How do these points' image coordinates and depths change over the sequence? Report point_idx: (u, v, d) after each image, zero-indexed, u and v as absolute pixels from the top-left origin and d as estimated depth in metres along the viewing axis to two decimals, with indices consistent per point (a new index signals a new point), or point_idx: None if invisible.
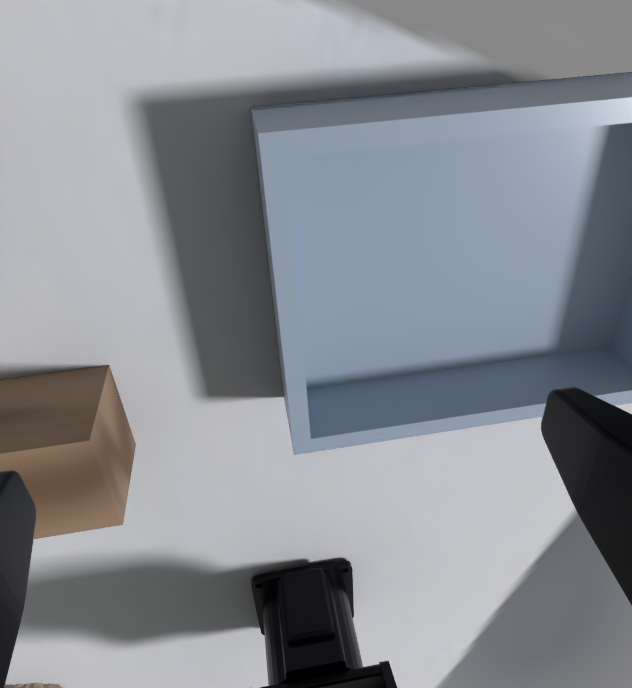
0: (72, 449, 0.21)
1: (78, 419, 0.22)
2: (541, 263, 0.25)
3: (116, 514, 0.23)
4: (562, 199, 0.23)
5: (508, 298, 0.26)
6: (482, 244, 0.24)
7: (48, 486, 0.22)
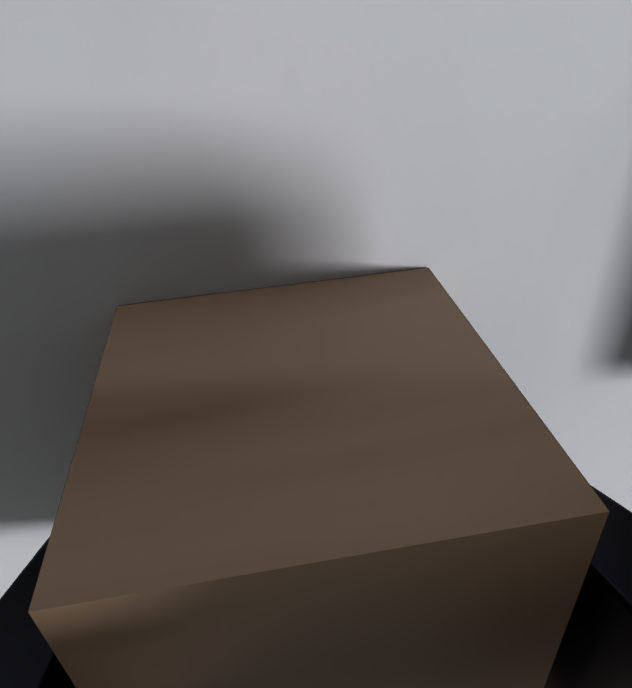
0: (528, 546, 0.05)
1: (476, 420, 0.06)
2: None
3: None
4: None
5: None
6: None
7: (372, 671, 0.06)
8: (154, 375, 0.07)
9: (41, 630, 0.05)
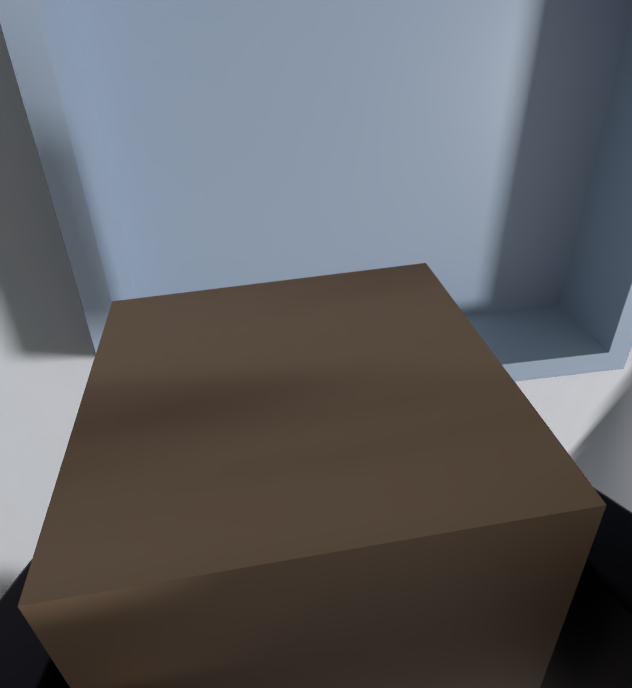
0: (523, 539, 0.05)
1: (472, 414, 0.06)
2: (463, 181, 0.19)
3: None
4: (488, 87, 0.17)
5: (421, 230, 0.19)
6: (381, 147, 0.17)
7: (368, 666, 0.06)
8: (148, 370, 0.07)
9: (31, 624, 0.05)
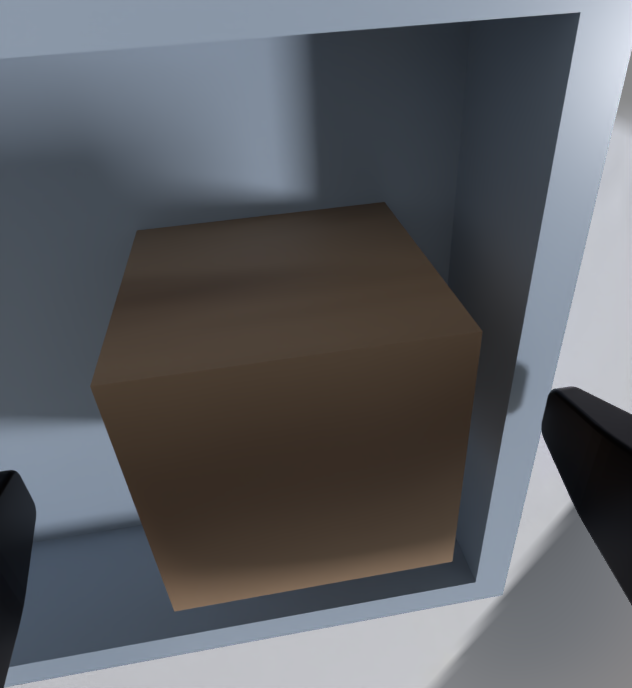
0: (428, 357, 0.07)
1: (402, 288, 0.08)
2: None
3: (450, 538, 0.10)
4: None
5: None
6: None
7: (327, 467, 0.08)
8: (168, 269, 0.09)
9: (97, 404, 0.07)
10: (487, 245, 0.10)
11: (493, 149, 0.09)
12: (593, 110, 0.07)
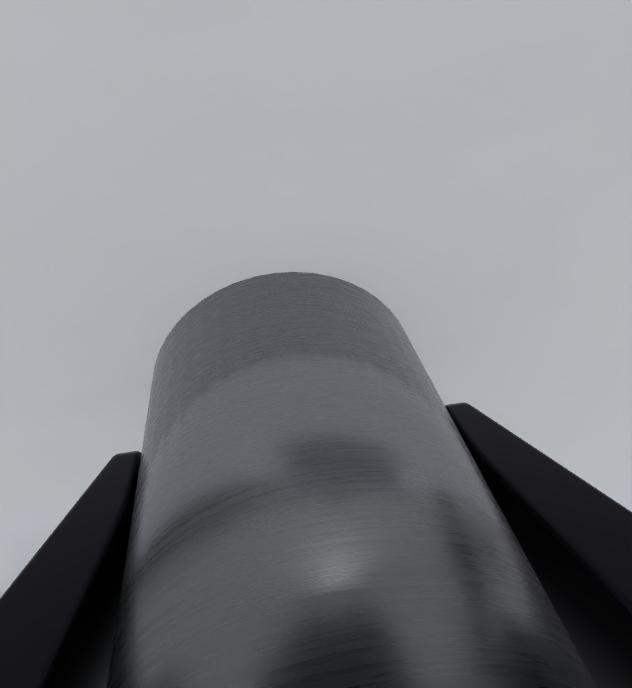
0: None
1: None
2: None
3: None
4: None
5: None
6: None
7: None
8: None
9: None
10: None
11: None
12: None
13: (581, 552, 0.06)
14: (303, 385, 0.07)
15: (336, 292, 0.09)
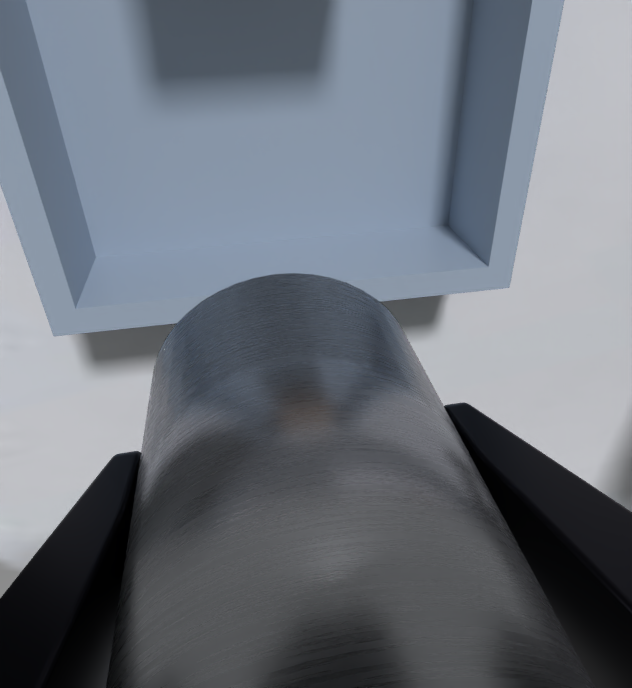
0: None
1: None
2: None
3: None
4: None
5: None
6: None
7: None
8: None
9: None
10: None
11: None
12: None
13: (581, 552, 0.06)
14: (302, 385, 0.07)
15: (335, 293, 0.09)
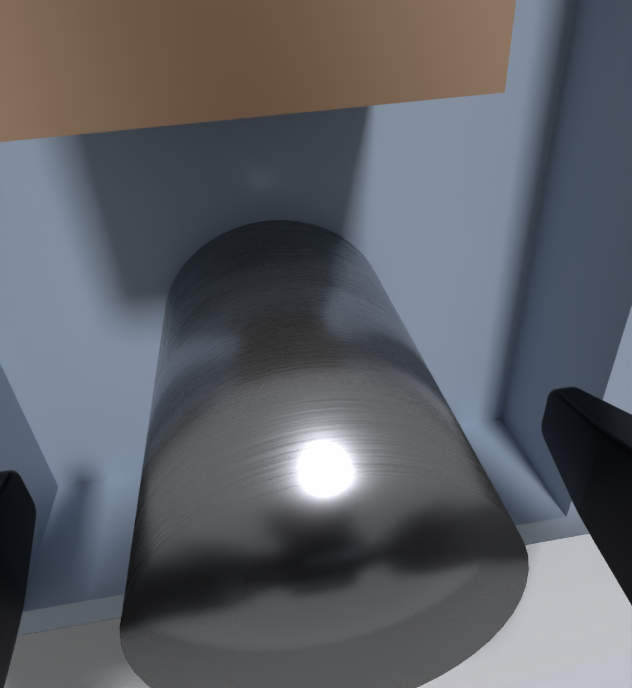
0: None
1: None
2: None
3: None
4: None
5: None
6: (219, 124, 0.10)
7: None
8: None
9: (22, 139, 0.05)
10: None
11: None
12: None
13: None
14: (285, 291, 0.09)
15: (316, 235, 0.11)
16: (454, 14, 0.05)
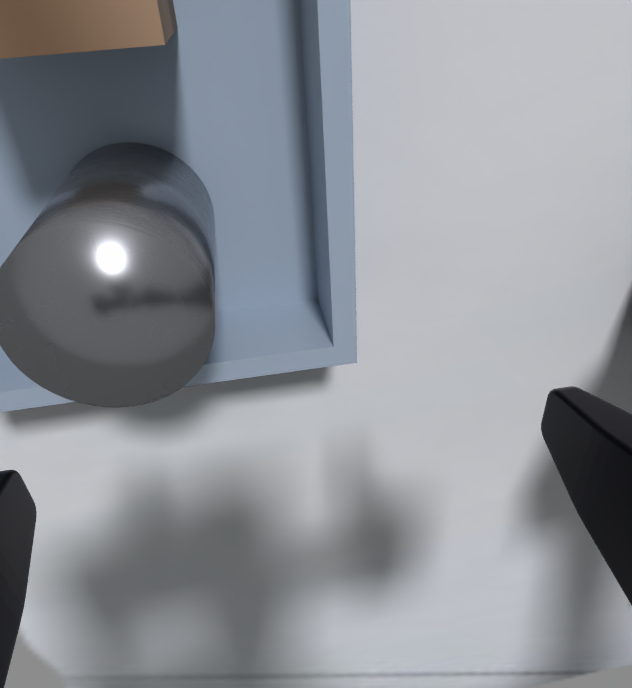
0: None
1: None
2: None
3: None
4: None
5: None
6: (82, 77, 0.16)
7: None
8: None
9: None
10: None
11: None
12: None
13: None
14: (108, 170, 0.15)
15: (151, 150, 0.17)
16: (128, 7, 0.11)
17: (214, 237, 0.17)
